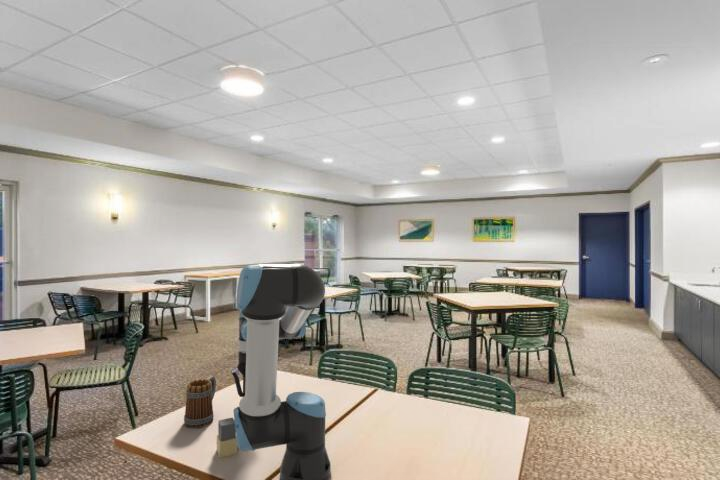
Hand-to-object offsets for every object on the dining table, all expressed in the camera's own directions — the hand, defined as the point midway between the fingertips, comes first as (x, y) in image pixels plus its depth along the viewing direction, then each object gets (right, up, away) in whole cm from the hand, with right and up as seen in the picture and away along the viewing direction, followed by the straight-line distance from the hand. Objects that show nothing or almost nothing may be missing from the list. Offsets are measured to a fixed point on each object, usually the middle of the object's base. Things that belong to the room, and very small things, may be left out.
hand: (248, 413), depth 148 cm
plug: (-3, -5, -17) cm, 18 cm away
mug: (-20, -5, +7) cm, 22 cm away
